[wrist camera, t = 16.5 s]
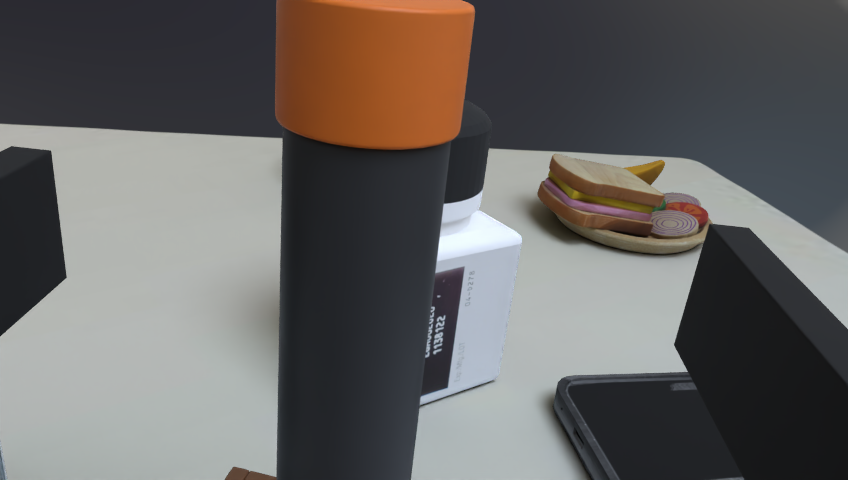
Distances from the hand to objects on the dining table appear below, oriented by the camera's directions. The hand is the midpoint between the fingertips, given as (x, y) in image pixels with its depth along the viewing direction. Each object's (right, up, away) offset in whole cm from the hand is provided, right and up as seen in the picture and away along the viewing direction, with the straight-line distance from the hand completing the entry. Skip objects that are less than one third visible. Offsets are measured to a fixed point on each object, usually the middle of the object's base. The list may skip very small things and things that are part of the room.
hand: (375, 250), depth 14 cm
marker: (-1, -13, +2) cm, 13 cm away
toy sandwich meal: (+16, +1, +40) cm, 43 cm away
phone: (+15, -9, +17) cm, 24 cm away
